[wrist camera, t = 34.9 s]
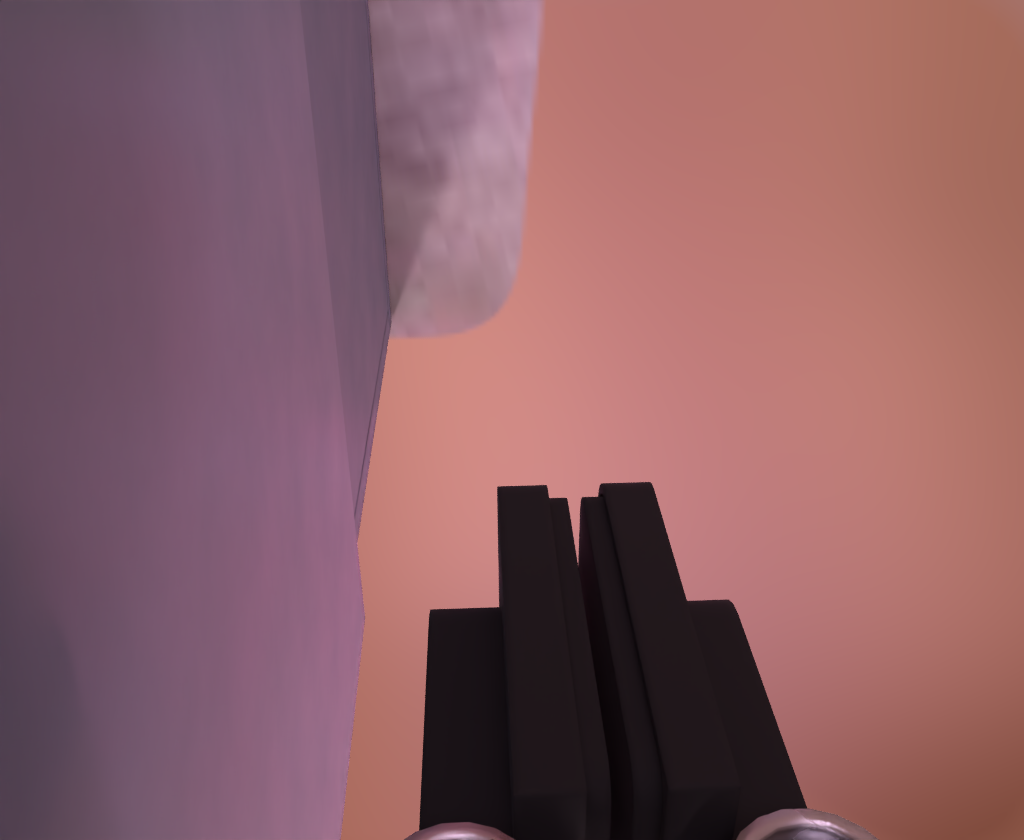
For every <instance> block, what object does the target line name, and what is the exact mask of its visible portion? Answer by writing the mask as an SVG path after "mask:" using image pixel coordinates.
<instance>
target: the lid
mask: <svg viewBox="0 0 1024 840" xmlns="http://www.w3.org/2000/svg"><path fill="white" fill-rule="evenodd" d="M364 622H365V614H364V604H363V594H362V585H361V576H360V566H359V557H358V548H357V538H356V528H355V519H354V509H353V500H352V490H351V481H350V471H349V462H348V452H347V443H346V433H345V424H344V414H343V405H342V395H341V386H340V376H339V367H338V357H337V348H336V338H335V329H334V319H333V310H332V300H331V291H330V281H329V272H328V262H327V253H326V243H325V234H324V224H323V215H322V205H321V196H320V186H319V177H318V167H317V158H316V149H315V139H314V130H313V120H312V111H311V101H310V92H309V82H308V73H307V63H306V54H305V44H304V35H303V25H302V16H301V6H300V0H0V840H340V838H341V829H342V821H343V812H344V803H345V794H346V785H347V775H348V767H349V758H350V748H351V740H352V730H353V721H354V712H355V703H356V694H357V685H358V676H359V667H360V658H361V649H362V640H363V631H364Z"/></svg>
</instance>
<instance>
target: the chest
mask: <svg viewBox="0 0 1024 840" xmlns="http://www.w3.org/2000/svg"><path fill="white" fill-rule="evenodd" d="M300 6H301V16H302V25H303V35H304V44H305V54H306V63H307V73H308V82H309V92H310V101H311V111H312V120H313V130H314V139H315V149H316V158H317V167H318V177H319V186H320V196H321V205H322V215H323V224H324V234H325V243H326V253H327V262H328V272H329V281H330V291H331V300H332V310H333V319H334V329H335V338H336V348H337V357H338V367H339V376H340V386H341V395H342V405H343V414H344V424H345V433H346V443H347V452H348V462H349V471H350V481H351V490H352V500H353V509H354V519H355V528H356V538H357V540H358V534H359V528H360V521H361V515H362V508H363V502H364V495H365V489H366V482H367V475H368V469H369V463H370V456H371V449H372V443H373V437H374V430H375V423H376V417H377V411H378V404H379V398H380V391H381V385H382V378H383V372H384V365H385V359H386V352H387V346H388V339H389V333H390V327H391V311H390V297H389V283H388V270H387V256H386V242H385V228H384V215H383V201H382V187H381V173H380V160H379V146H378V132H377V118H376V105H375V91H374V77H373V63H372V50H371V36H370V22H369V8H368V0H300Z"/></svg>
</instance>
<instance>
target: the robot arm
mask: <svg viewBox="0 0 1024 840" xmlns="http://www.w3.org/2000/svg"><path fill="white" fill-rule="evenodd" d="M497 488H498V489H497V494H498V495H497V496H498V498H497V501H498V554H499V555H498V558H499V607H497V608H468V609H467V608H466V609H437V610H436V609H434V610H430V614H429V629H428V651H427V675H426V695H425V716H424V717H425V718H424V740H423V760H422V782H421V804H420V825H419V831H417V832H415V833H413V834H412V835H410V836H409V837H407V838H406V839H404V840H878V839H877V838H876V837H874V836H873V835H872V834H871V833H869V832H868V831H867V830H866V829H864V828H862V827H861V826H859V825H857V824H855V823H852V822H850V821H848V820H846V819H844V818H842V817H840V816H838V815H835V814H831V813H826V812H822V811H817V810H813V809H807V806H806V804H805V801H804V798H803V795H802V792H801V790H800V787H799V784H798V782H797V778H796V775H795V773H794V770H793V767H792V765H791V761H790V759H789V756H788V753H787V750H786V747H785V745H784V742H783V739H782V736H781V734H780V731H779V728H778V725H777V722H776V719H775V716H774V714H773V711H772V708H771V705H770V703H769V700H768V697H767V694H766V691H765V688H764V686H763V683H762V680H761V677H760V674H759V672H758V669H757V666H756V663H755V660H754V657H753V655H752V652H751V649H750V646H749V643H748V641H747V638H746V635H745V632H744V629H743V627H742V624H741V621H740V618H739V615H738V613H737V611H736V609H735V607H734V605H733V603H732V602H730V601H729V600H705V601H687V600H686V597H685V593H684V590H683V586H682V583H681V580H680V576H679V573H678V569H677V566H676V562H675V559H674V556H673V552H672V549H671V545H670V542H669V539H668V535H667V532H666V528H665V525H664V522H663V518H662V515H661V512H660V508H659V505H658V502H657V498H656V494H655V491H654V488H653V486H652V484H651V483H650V482H639V483H603V484H601V485H600V488H599V495H598V497H582V499H581V507H580V533H579V563H577V557H576V551H575V545H574V538H573V532H572V526H571V519H570V513H569V506H568V501H567V498H549V495H548V488H547V485H536V486H501V487H497Z"/></svg>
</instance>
